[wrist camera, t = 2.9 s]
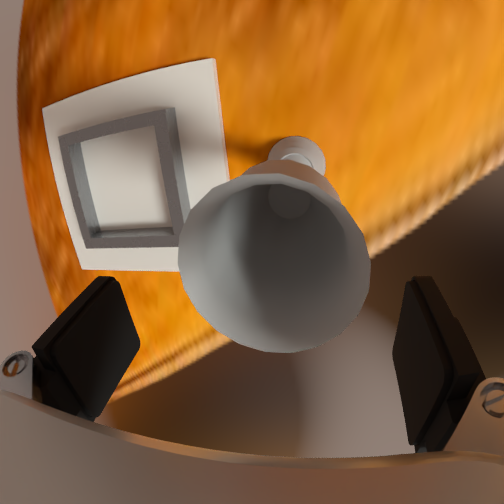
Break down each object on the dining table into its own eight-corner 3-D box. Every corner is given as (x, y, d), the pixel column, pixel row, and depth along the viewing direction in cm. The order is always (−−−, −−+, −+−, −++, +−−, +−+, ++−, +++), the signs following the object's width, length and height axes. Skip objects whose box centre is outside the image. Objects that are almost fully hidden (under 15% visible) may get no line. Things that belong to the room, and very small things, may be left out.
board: (215, 59, 23) (211, 58, 22) (241, 266, 32) (238, 272, 32) (47, 107, 27) (42, 108, 26) (86, 265, 36) (82, 269, 35)
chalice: (247, 132, 26) (149, 198, 10) (326, 116, 24) (355, 153, 9) (268, 210, 29) (215, 357, 13) (342, 198, 27) (375, 342, 12)
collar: (174, 107, 25) (165, 108, 23) (195, 237, 31) (188, 246, 29) (70, 132, 27) (57, 136, 26) (95, 240, 33) (85, 248, 31)
